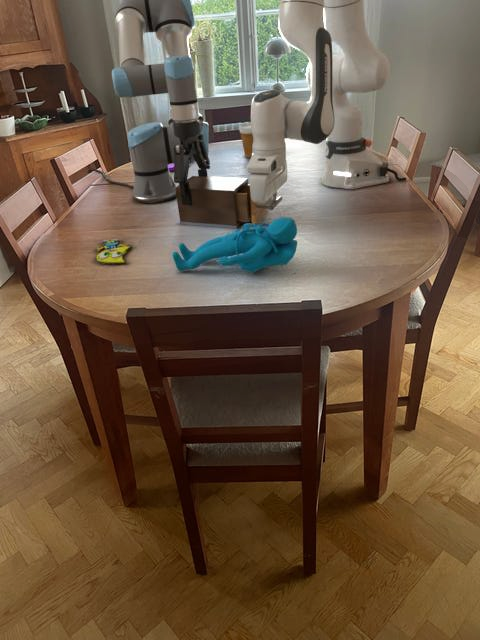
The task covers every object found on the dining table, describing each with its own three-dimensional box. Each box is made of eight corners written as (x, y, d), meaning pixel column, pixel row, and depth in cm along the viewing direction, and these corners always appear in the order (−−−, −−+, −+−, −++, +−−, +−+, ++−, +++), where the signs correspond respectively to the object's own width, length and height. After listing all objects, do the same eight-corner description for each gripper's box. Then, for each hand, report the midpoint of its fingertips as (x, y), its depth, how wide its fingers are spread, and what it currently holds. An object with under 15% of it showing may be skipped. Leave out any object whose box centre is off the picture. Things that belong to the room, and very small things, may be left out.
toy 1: (135, 237, 135) (125, 260, 122) (135, 240, 135) (125, 263, 123) (99, 239, 135) (85, 263, 122) (100, 242, 135) (86, 266, 123)
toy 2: (183, 229, 122) (297, 202, 112) (198, 266, 128) (308, 242, 117) (161, 259, 109) (288, 230, 99) (178, 298, 114) (301, 275, 104)
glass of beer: (264, 157, 198) (262, 127, 191) (241, 159, 198) (238, 129, 192) (263, 152, 206) (261, 122, 199) (241, 153, 206) (239, 124, 200)
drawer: (284, 213, 141) (283, 183, 136) (273, 227, 133) (272, 195, 128) (216, 209, 149) (213, 180, 144) (202, 221, 141) (198, 191, 136)
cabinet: (250, 214, 146) (248, 178, 140) (236, 228, 137) (233, 190, 131) (197, 210, 152) (192, 175, 146) (180, 224, 143) (174, 187, 137)
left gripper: (192, 111, 142) (202, 184, 153) (152, 129, 123) (166, 211, 135) (216, 111, 139) (223, 185, 151) (177, 129, 121) (189, 212, 133)
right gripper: (271, 148, 137) (273, 195, 145) (244, 168, 122) (247, 219, 129) (292, 148, 135) (293, 196, 143) (267, 169, 120) (269, 221, 127)
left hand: (196, 197), depth 143 cm, fingers closed on cabinet, 11 cm apart
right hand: (271, 207), depth 136 cm, fingers closed, pressing on drawer
